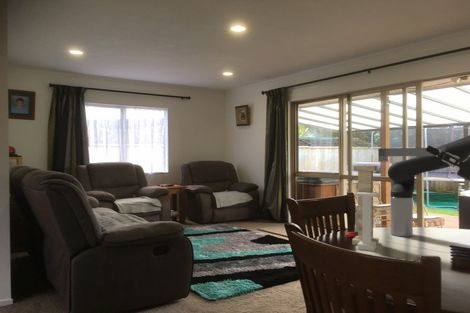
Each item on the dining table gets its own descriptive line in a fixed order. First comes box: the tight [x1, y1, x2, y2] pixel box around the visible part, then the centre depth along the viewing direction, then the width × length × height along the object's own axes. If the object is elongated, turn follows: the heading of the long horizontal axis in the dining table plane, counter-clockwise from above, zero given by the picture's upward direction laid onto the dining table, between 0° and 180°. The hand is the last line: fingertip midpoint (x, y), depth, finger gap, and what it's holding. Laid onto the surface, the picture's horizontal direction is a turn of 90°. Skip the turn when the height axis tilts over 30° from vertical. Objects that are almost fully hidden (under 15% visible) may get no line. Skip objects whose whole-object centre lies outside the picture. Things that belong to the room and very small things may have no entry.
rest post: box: [354, 191, 380, 252], centre depth 144 cm, size 6×8×22 cm
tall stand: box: [351, 164, 380, 247], centre depth 152 cm, size 8×9×32 cm
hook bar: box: [377, 146, 445, 163], centre depth 137 cm, size 3×22×5 cm, turn 61°
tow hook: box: [344, 207, 358, 238], centre depth 168 cm, size 8×13×9 cm
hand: (427, 147), depth 135 cm, fingers closed on hook bar, 3 cm apart
